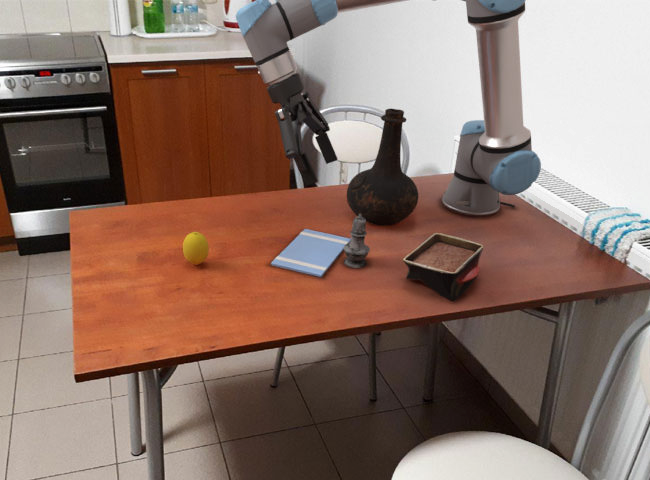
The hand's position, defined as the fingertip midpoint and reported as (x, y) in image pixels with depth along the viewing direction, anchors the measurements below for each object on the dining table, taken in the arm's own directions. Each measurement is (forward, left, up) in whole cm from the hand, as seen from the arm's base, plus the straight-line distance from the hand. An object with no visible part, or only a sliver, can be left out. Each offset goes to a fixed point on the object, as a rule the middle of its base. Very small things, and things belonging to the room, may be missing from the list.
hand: (322, 172), depth 139 cm
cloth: (+2, +2, -19) cm, 19 cm away
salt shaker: (-5, +9, -19) cm, 22 cm away
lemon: (+29, -1, -19) cm, 34 cm away
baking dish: (-19, +22, -19) cm, 35 cm away
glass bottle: (-22, -11, -19) cm, 31 cm away
